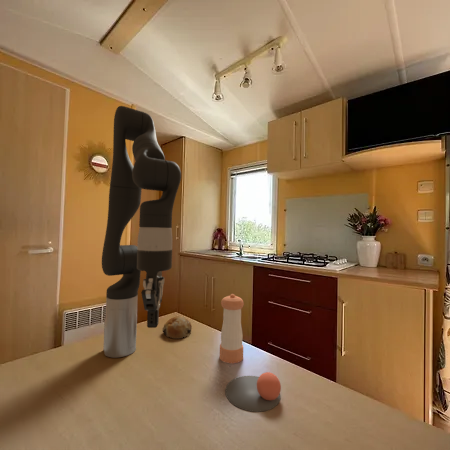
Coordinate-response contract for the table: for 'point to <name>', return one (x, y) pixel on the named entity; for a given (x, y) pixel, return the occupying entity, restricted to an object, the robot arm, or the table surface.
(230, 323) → the pepper shaker
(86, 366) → the table surface
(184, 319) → the bread roll
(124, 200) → the robot arm
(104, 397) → the table surface
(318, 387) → the table surface
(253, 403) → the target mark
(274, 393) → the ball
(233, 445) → the table surface
